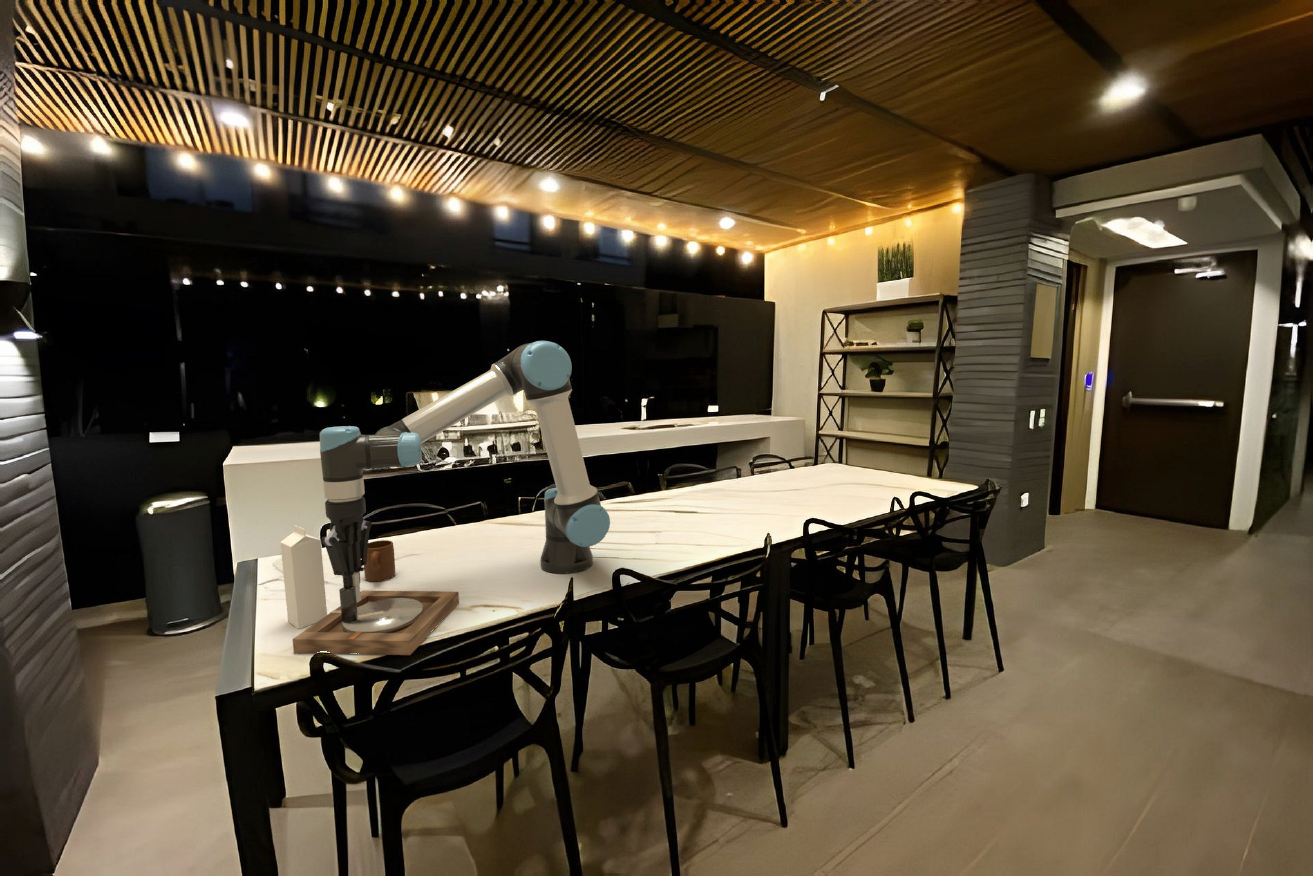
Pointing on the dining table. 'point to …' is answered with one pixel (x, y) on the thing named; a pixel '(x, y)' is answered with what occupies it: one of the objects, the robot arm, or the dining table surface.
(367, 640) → the board
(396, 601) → the dial
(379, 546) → the mug
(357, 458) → the robot arm
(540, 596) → the dining table surface
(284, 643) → the dining table surface
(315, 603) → the milk
